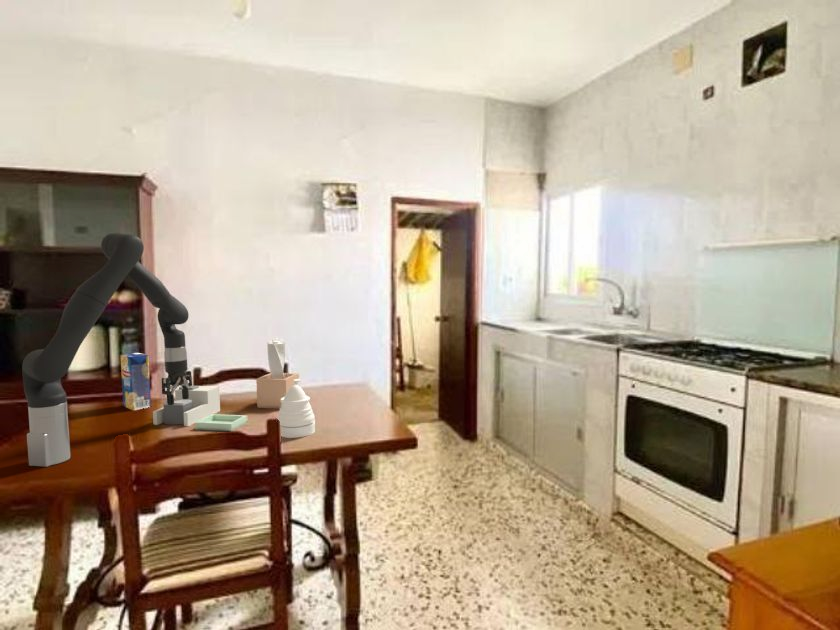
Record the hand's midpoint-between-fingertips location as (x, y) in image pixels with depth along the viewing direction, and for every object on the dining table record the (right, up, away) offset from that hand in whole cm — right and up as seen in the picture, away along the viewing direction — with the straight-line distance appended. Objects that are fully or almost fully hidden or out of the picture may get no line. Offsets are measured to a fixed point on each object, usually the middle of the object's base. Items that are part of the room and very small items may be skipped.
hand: (178, 401), depth 189 cm
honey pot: (+47, -9, -13) cm, 50 cm away
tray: (+18, -8, -5) cm, 20 cm away
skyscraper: (+30, -5, +25) cm, 40 cm away
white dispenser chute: (+1, -7, +6) cm, 10 cm away
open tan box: (+30, -5, +26) cm, 40 cm away
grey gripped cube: (0, -8, +1) cm, 8 cm away
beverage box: (-29, -6, +24) cm, 38 cm away
